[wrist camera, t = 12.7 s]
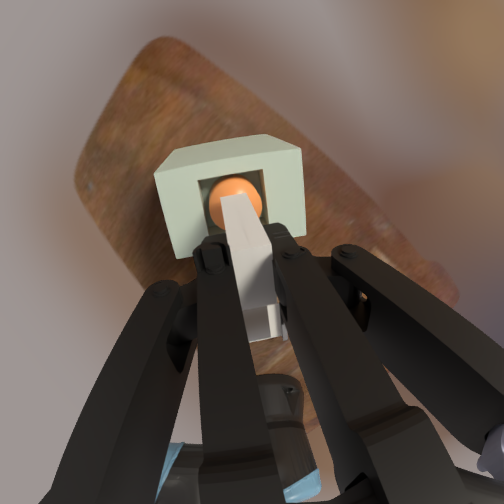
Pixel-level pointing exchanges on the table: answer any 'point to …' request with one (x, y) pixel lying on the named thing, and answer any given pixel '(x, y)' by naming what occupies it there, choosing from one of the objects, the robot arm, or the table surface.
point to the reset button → (231, 187)
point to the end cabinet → (224, 163)
